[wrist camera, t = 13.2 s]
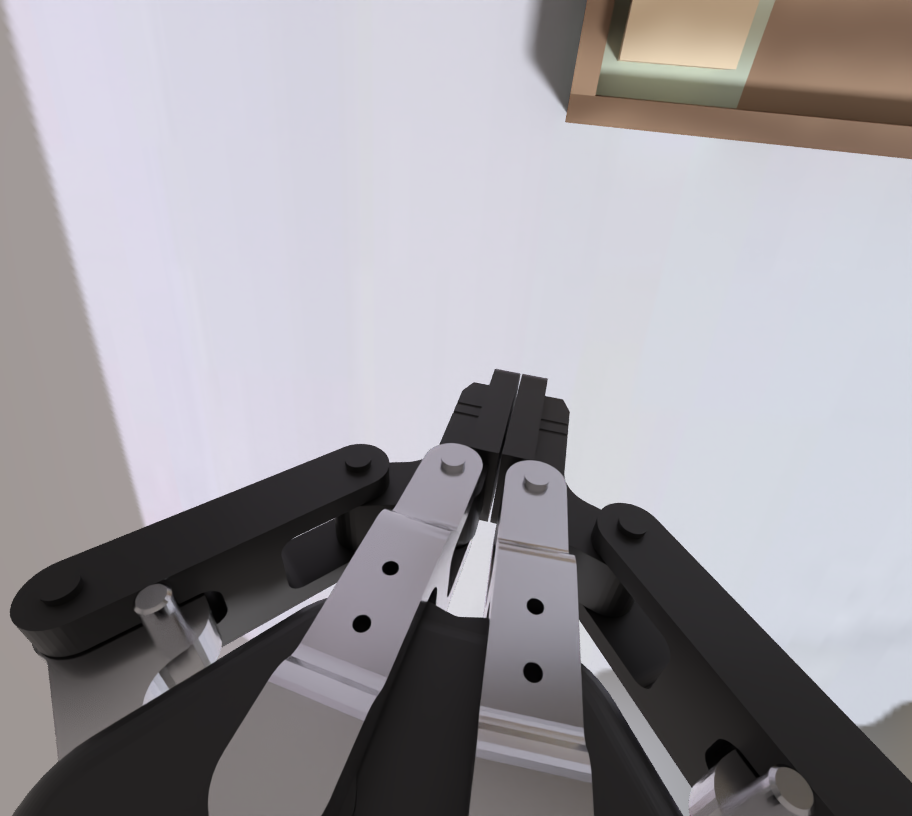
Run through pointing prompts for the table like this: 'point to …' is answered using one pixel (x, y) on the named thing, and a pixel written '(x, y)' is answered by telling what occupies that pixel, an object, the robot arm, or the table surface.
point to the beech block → (687, 32)
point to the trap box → (764, 79)
